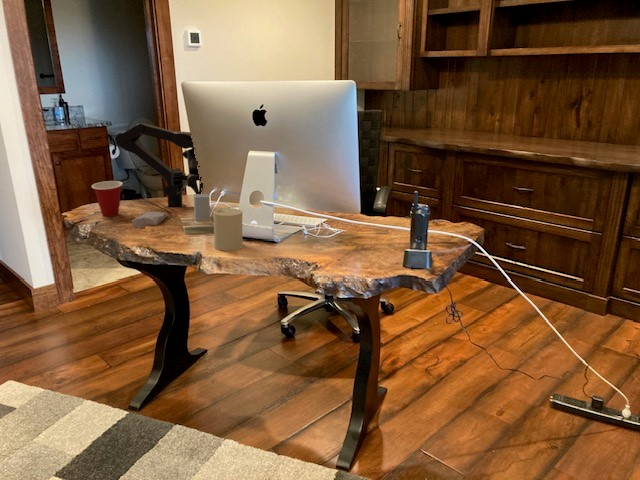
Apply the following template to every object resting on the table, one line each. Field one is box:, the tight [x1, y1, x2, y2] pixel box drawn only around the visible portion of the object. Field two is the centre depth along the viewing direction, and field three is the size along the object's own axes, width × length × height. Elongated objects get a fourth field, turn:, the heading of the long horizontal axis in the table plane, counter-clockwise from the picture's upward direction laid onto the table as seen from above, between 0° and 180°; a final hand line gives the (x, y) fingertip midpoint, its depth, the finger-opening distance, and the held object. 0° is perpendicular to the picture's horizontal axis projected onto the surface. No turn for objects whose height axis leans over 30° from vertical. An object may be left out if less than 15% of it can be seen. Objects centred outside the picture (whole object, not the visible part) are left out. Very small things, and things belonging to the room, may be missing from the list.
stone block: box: [131, 211, 167, 229], centre depth 187 cm, size 12×5×10 cm
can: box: [213, 207, 244, 252], centre depth 164 cm, size 9×9×12 cm
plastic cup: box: [91, 180, 123, 217], centre depth 194 cm, size 11×11×12 cm
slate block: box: [193, 193, 211, 222], centre depth 189 cm, size 5×5×9 cm
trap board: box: [180, 215, 214, 238], centre depth 184 cm, size 20×15×3 cm
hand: (199, 196), depth 195 cm, fingers closed
